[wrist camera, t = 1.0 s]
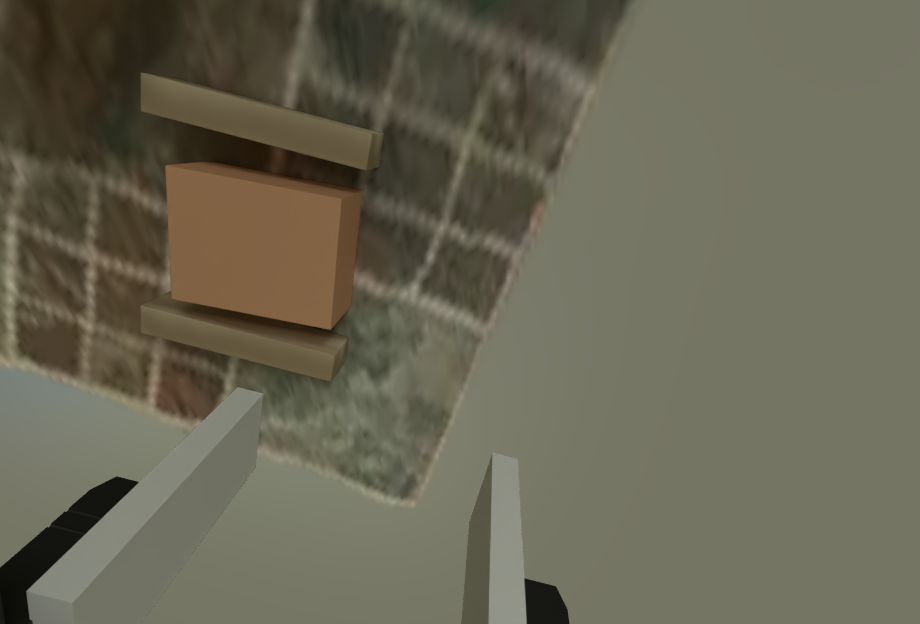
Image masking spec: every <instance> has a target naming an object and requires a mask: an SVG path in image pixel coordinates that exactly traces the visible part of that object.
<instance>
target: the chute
mask: <svg viewBox="0 0 920 624" xmlns="http://www.w3.org/2000/svg"><path fill="white" fill-rule="evenodd" d="M141 111H143V112H146V113H150V114H154V115H158V116H161V117H165V118H169V119H173V120H177V121H180V122H184V123H188V124H192V125H196V126H199V127H203V128H207V129H211V130H215V131H218V132H222V133H226V134H230V135H234V136H237V137H241V138H245V139H249V140H253V141H256V142H260V143H264V144H268V145H271V146H275V147H279V148H283V149H287V150H290V151H294V152H298V153H302V154H306V155H309V156H313V157H317V158H321V159H325V160H328V161H332V162H336V163H340V164H344V165H347V166H351V167H355V168H359V169H362V170H369V169H373V168H377V167H379V163H380V157H381V151H382V146H383V140H384V133H380V132H376V131H373V130H369V129H365V128H361V127H357V126H354V125H350V124H346V123H342V122H339V121H335V120H331V119H327V118H323V117H320V116H316V115H312V114H308V113H305V112H301V111H297V110H293V109H289V108H286V107H282V106H278V105H274V104H271V103H267V102H263V101H259V100H256V99H252V98H248V97H244V96H240V95H237V94H233V93H229V92H225V91H222V90H218V89H214V88H210V87H206V86H203V85H199V84H195V83H191V82H188V81H184V80H180V79H176V78H171V77H165V76H159V75H153V74H147V73H141ZM141 333H144V334H148V335H151V336H155V337H159V338H163V339H167V340H171V341H175V342H179V343H182V344H186V345H190V346H194V347H198V348H202V349H206V350H210V351H213V352H217V353H221V354H225V355H229V356H233V357H237V358H241V359H245V360H248V361H252V362H256V363H260V364H264V365H268V366H272V367H276V368H279V369H283V370H287V371H291V372H295V373H299V374H303V375H307V376H311V377H314V378H318V379H322V380H326V381H330V382H331V380H332V379H333V377H334V376H335V375H336V373H337V372H338V370H339V369H340V367H341V366H342V364H343V363H344V361H345V355H346V349H347V344H348V338H349V337H345V336H341V335H338V334H334V333H330V332H326V331H322V330H318V329H314V328H311V327H307V326H303V325H299V324H295V323H291V322H287V321H283V320H278V319H273V318H267V317H262V316H257V315H252V314H247V313H242V312H237V311H232V310H227V309H221V308H216V307H211V306H206V305H201V304H196V303H191V302H186V301H181V300H175V299H172V295H171V291H170V292H168V293H166V294H164V295H162V296H160V297H158V298H155V299H153V300H151V301H149V302H147V303H145V304H143V305H141Z"/></svg>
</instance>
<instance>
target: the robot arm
mask: <svg viewBox="0 0 920 624" xmlns="http://www.w3.org/2000/svg"><path fill="white" fill-rule="evenodd" d="M262 402H263V393H259V392H255V391H251V390H247V389H243V388H240V387H237V388H236V389H235V390H234V391H233V392H232V393H231V394H230V395H229V396H228V397H227V398H226V399H225V400H224V401H223V402H222V403H221V404H220V405H219V406H218V407H217V408H216V409H215V410H214V411H213V412H212V413H210V414H209V415H208V416H207V417H206V418H205V419H204V420H203V421H202V422H201V423H200V424H199V425H198V426H197V427H196V428H195V429H194V430H193V431H192V432H191V433H190V434H189V435H188V436H187V437H186V438H185V439H184V440H183V441H182V442H180V443H179V444H178V445H177V446H176V447H175V449H173V450H172V451H171V452H170V453H169V454H168V455H167V456H166V457H165V458H164V459H163V460H162V461H161V462H160V463H159V464H158V465H157V466H156V467H155V468H153V469H152V470H151V471H150V473H148V474H147V475H146V476H145V477H144V478H143V479H142V480H141V481H140V482H136V481H133V480H128V479H125V478H121V477H115V478H113V479H111V480H109V481H107V482H105V483H103V484H101V485H99V486H97V487H95V488H93V489H91V490H89V491H88V492H87V493H86V494H85V495H84V496H82V497H81V498H80V499H79V500H78V501H77V502H75V503H74V504H73V505H72V506H71V507H70V508H69V510H68V511H67V512H64V513H63V514H62V515H60V516H59V517H58V518H57V519H56V520H55V521H54V522H52V523H51V526H50V527H49V528H48V527H47V528H45V529H44V530H43V531H42V532H41V533H40V534H39V535H37V536H36V537H35V538H34V539H33V540H32V541H31V542H29V543H28V544H27V545H26V546H25V547H24V548H22V549H21V550H20V551H19V552H18V553H17V554H15V555H14V556H13V557H12V558H11V559H10V560H9V561H7V562H6V563H5V564H4V565H3V566H2V567H1V568H0V624H141V623H142V622H143V620H144V619H145V618H146V616H147V615H148V614H149V612H150V611H151V609H152V608H153V607H154V605H155V604H156V603H157V601H158V600H159V599H160V597H161V596H162V594H163V593H164V592H165V590H166V589H167V588H168V586H169V585H170V584H171V582H172V581H173V579H174V578H175V577H176V575H177V574H178V573H179V571H180V570H181V569H182V567H183V566H184V564H185V563H186V562H187V560H188V559H189V557H190V556H191V555H192V554H193V552H194V551H195V549H196V548H197V547H198V545H199V544H200V543H201V541H202V540H203V539H204V537H205V536H206V534H207V533H208V532H209V530H210V529H211V528H212V526H213V525H214V524H215V522H216V521H217V519H218V518H219V517H220V515H221V514H222V513H223V511H224V510H225V509H226V507H227V506H228V504H229V503H230V502H231V500H232V499H233V498H234V496H235V495H236V493H237V492H238V491H239V489H240V488H241V487H242V485H243V484H244V483H245V481H246V480H247V478H248V477H249V476H250V474H251V473H252V472H253V470H254V469H255V466H256V457H257V448H258V439H259V429H260V420H261V411H262ZM519 491H520V490H519V472H518V459H516V458H512V457H508V456H504V455H500V454H496V453H492V456H491V459H490V462H489V465H488V468H487V471H486V474H485V477H484V480H483V483H482V486H481V489H480V492H479V495H478V498H477V501H476V504H475V507H474V510H473V513H472V516H471V519H470V522H469V534H468V547H467V560H466V572H465V585H464V597H463V610H462V622H461V624H569V618H568V611H567V608H566V606H565V604H564V602H563V600H562V598H561V596H560V594H559V592H558V590H557V588H556V586H552V585H548V584H544V583H540V582H536V581H532V580H529V579H525V578H524V564H523V547H522V529H521V510H520V492H519Z"/></svg>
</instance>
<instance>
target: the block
mask: <svg viewBox="0 0 920 624" xmlns="http://www.w3.org/2000/svg"><path fill="white" fill-rule="evenodd" d="M165 168H166V189H167V210H168V232H169V253H170V274H171V295H172V299H175V300H181V301H186V302H191V303H196V304H201V305H206V306H211V307H216V308H221V309H227V310H232V311H237V312H242V313H247V314H252V315H257V316H262V317H267V318H273V319H278V320H283V321H288V322H293V323H298V324H303V325H308V326H314V327H319V328H324V329H329V330H331V329H332V328H333V326H334V325H335V324H336V323H337V322H338V321H339V319H340V318H341V317H342V316H343V315H344V314H345V313H346V311H347V310H348V309H349V308H350V307H351V299H352V289H353V279H354V269H355V259H356V249H357V239H358V229H359V219H360V209H361V199H362V190H357V189H352V188H347V187H342V186H336V185H331V184H326V183H321V182H315V181H310V180H305V179H300V178H295V177H289V176H284V175H279V174H274V173H268V172H263V171H258V170H253V169H248V168H242V167H237V166H232V165H227V164H221V163H216V162H211V161H205V162H194V163H183V164H173V165H165Z"/></svg>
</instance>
